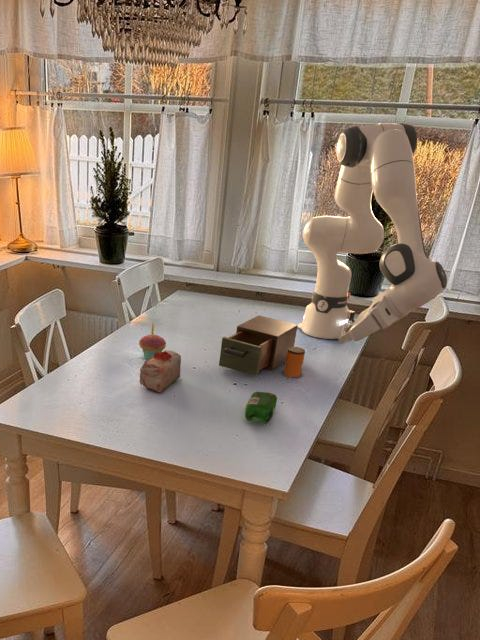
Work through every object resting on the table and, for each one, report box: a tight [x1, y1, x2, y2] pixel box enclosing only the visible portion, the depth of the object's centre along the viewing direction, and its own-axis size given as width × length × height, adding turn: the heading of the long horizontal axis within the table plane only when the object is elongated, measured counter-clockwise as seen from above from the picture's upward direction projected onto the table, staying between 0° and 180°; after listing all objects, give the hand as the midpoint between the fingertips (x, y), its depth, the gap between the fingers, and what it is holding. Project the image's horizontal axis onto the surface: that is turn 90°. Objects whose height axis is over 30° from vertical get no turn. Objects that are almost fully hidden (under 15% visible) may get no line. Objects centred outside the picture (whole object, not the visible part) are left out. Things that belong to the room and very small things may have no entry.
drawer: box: [218, 330, 274, 377], centre depth 199 cm, size 18×13×9 cm
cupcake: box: [138, 322, 167, 360], centre depth 205 cm, size 9×8×12 cm
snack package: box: [244, 390, 278, 424], centre depth 173 cm, size 7×16×5 cm, turn 161°
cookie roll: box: [283, 346, 306, 378], centre depth 198 cm, size 5×5×8 cm
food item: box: [139, 349, 182, 393], centre depth 187 cm, size 14×8×10 cm, turn 151°
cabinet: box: [235, 315, 299, 371], centre depth 208 cm, size 15×14×11 cm
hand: (343, 336), depth 188 cm, fingers open, 8 cm apart
